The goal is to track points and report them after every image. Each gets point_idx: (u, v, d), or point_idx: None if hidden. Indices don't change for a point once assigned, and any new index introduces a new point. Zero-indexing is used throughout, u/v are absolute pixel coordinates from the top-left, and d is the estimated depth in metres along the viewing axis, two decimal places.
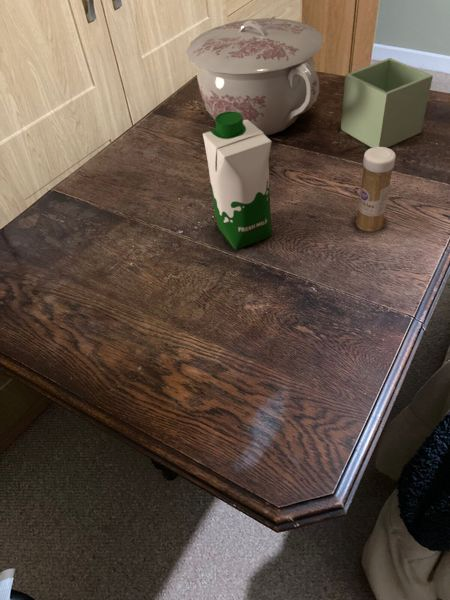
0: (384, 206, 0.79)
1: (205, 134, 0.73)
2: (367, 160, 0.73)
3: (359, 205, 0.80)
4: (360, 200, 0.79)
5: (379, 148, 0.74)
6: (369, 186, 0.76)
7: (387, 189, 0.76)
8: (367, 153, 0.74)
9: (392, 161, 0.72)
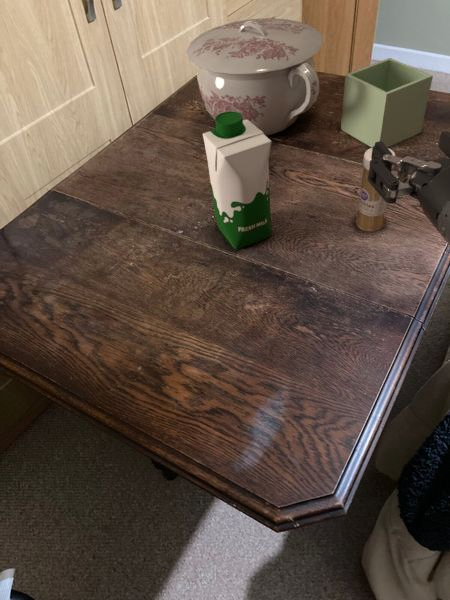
0: (384, 206, 0.79)
1: (205, 134, 0.73)
2: (367, 161, 0.73)
3: (359, 205, 0.80)
4: (360, 200, 0.79)
5: None
6: (369, 186, 0.76)
7: None
8: (367, 153, 0.74)
9: None
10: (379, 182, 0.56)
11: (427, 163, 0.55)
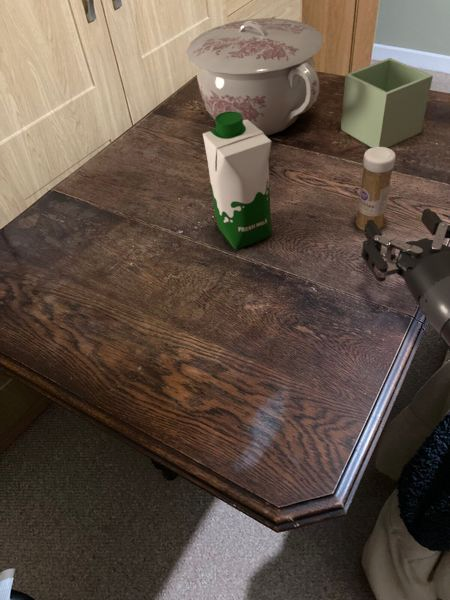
0: (384, 206, 0.79)
1: (205, 134, 0.73)
2: (367, 161, 0.73)
3: (359, 205, 0.80)
4: (360, 200, 0.79)
5: (379, 148, 0.74)
6: (369, 186, 0.76)
7: (387, 189, 0.76)
8: (367, 153, 0.74)
9: (392, 161, 0.72)
10: (371, 262, 0.67)
11: (411, 247, 0.65)
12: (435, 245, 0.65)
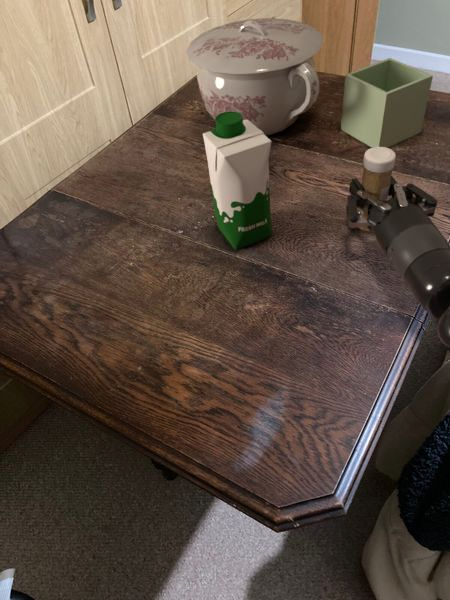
0: None
1: (205, 134, 0.73)
2: (368, 160, 0.73)
3: None
4: None
5: (379, 148, 0.74)
6: (369, 186, 0.76)
7: (387, 189, 0.76)
8: (367, 153, 0.74)
9: (392, 161, 0.72)
10: (348, 213, 0.74)
11: (382, 204, 0.72)
12: (402, 203, 0.72)
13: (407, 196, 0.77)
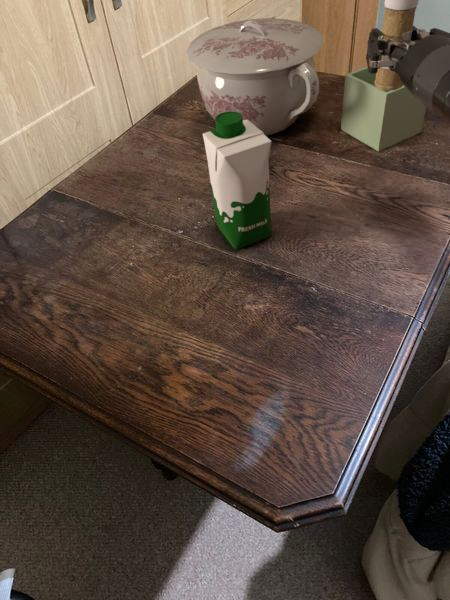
0: None
1: (205, 134, 0.73)
2: None
3: None
4: None
5: None
6: (391, 30, 0.71)
7: (409, 34, 0.72)
8: None
9: None
10: (368, 56, 0.70)
11: (405, 41, 0.68)
12: None
13: None
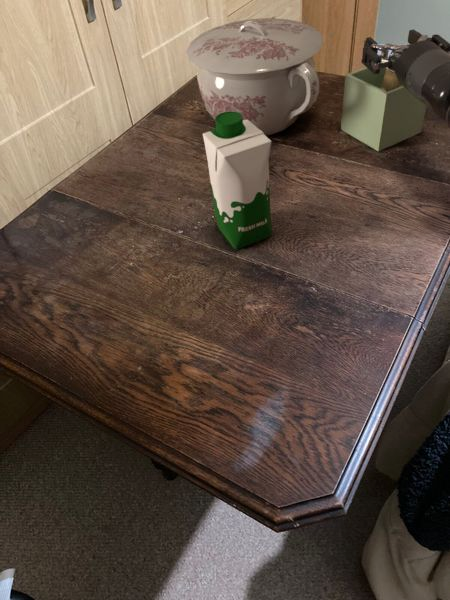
0: None
1: (205, 134, 0.73)
2: None
3: None
4: None
5: None
6: (388, 85, 0.94)
7: None
8: None
9: None
10: (368, 60, 0.85)
11: (399, 46, 0.84)
12: None
13: None
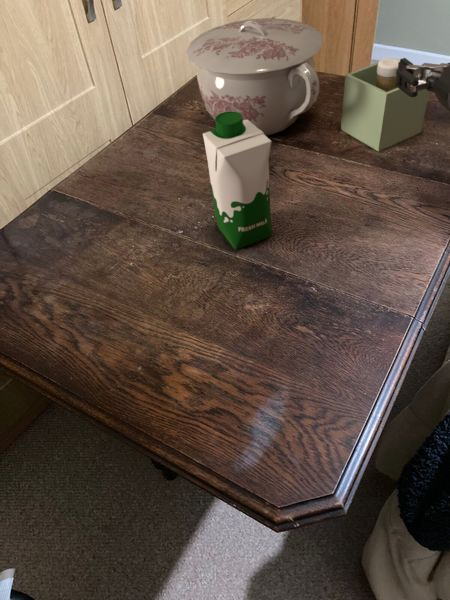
0: None
1: (205, 134, 0.73)
2: (380, 67, 0.92)
3: None
4: None
5: (390, 58, 0.93)
6: None
7: None
8: (380, 62, 0.93)
9: None
10: (404, 83, 0.76)
11: (439, 64, 0.75)
12: None
13: None
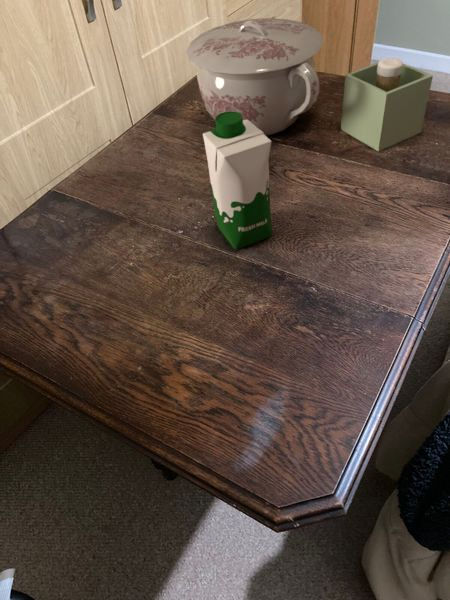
0: None
1: (205, 134, 0.73)
2: (380, 67, 0.92)
3: None
4: None
5: (390, 58, 0.93)
6: None
7: None
8: (380, 62, 0.93)
9: (400, 67, 0.91)
10: None
11: None
12: None
13: None
